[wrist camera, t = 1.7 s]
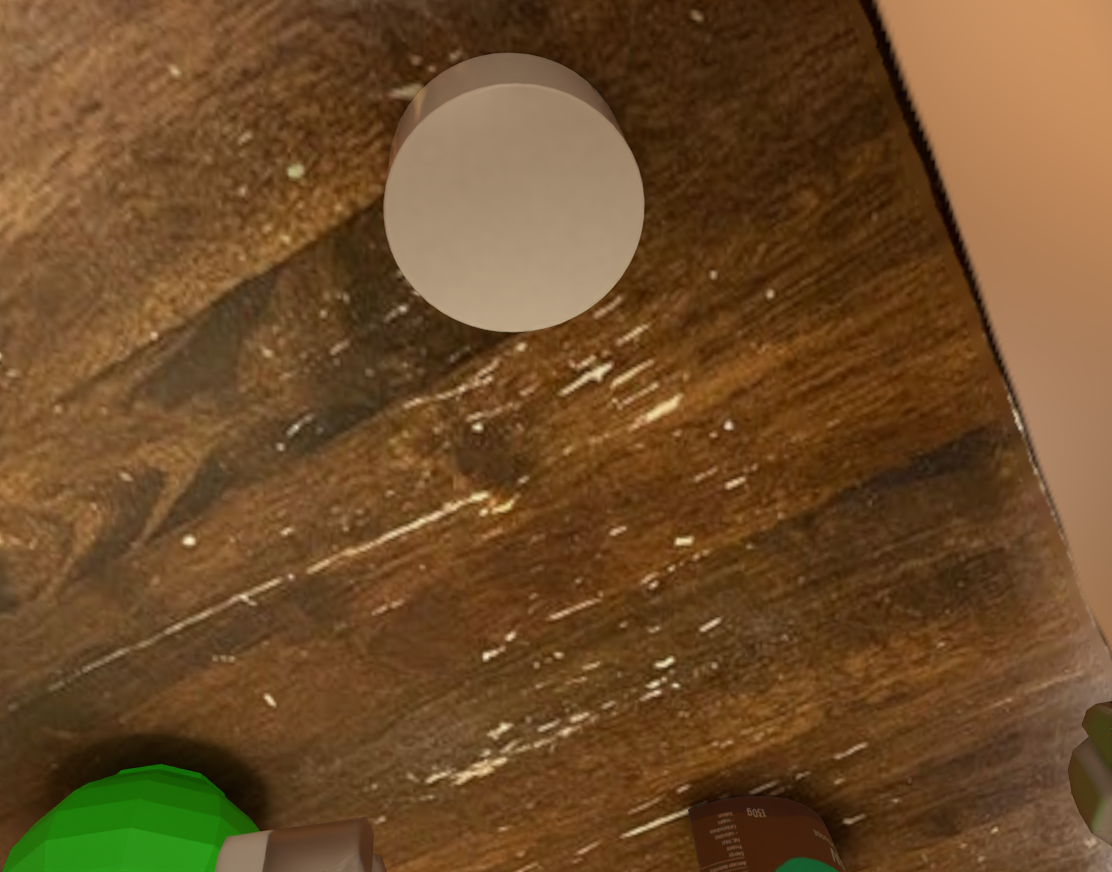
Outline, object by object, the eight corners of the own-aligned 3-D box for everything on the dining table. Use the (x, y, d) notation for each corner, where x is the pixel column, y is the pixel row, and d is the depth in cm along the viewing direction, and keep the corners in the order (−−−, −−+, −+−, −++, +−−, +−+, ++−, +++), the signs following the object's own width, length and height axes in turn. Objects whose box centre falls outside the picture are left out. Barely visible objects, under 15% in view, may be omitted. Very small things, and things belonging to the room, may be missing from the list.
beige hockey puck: (619, 36, 25) (638, 66, 23) (633, 268, 29) (650, 315, 26) (365, 69, 25) (357, 103, 23) (413, 298, 29) (410, 348, 26)
